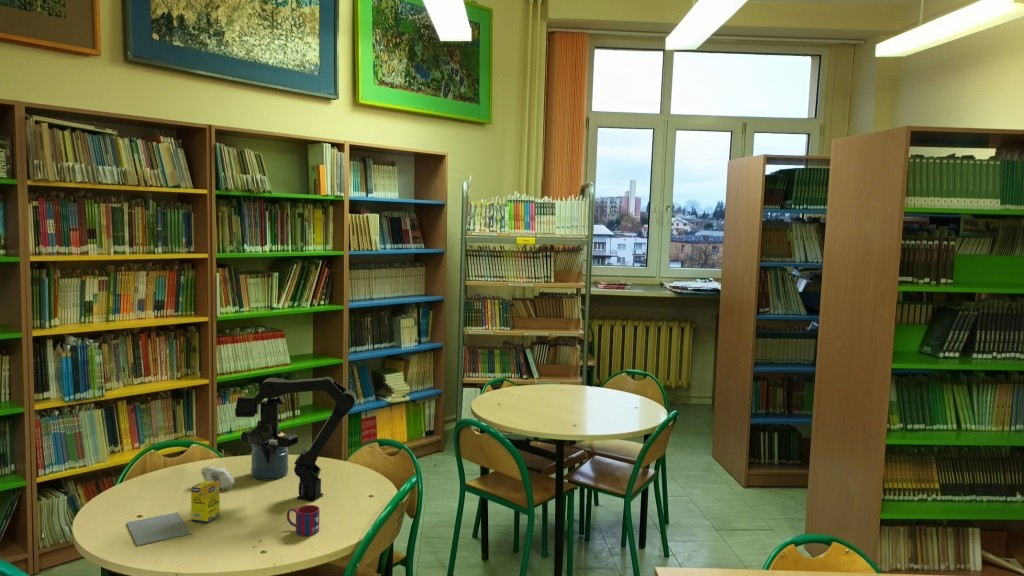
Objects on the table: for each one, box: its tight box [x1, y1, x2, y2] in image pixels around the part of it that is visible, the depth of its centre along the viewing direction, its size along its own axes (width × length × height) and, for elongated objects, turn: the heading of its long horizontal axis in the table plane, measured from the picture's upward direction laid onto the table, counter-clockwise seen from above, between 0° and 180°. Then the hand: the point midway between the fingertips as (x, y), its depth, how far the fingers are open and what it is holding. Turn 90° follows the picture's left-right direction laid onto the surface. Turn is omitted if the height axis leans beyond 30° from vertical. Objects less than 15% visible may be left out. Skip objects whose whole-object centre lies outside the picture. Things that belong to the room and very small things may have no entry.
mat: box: [126, 511, 192, 547], centre depth 199 cm, size 14×18×1 cm
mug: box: [286, 504, 320, 537], centre depth 201 cm, size 7×10×7 cm
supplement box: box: [190, 480, 221, 524], centre depth 207 cm, size 6×6×11 cm
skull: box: [200, 465, 235, 491], centre depth 233 cm, size 8×9×12 cm
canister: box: [250, 431, 290, 481], centre depth 247 cm, size 13×13×18 cm
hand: (268, 463), depth 224 cm, fingers closed
